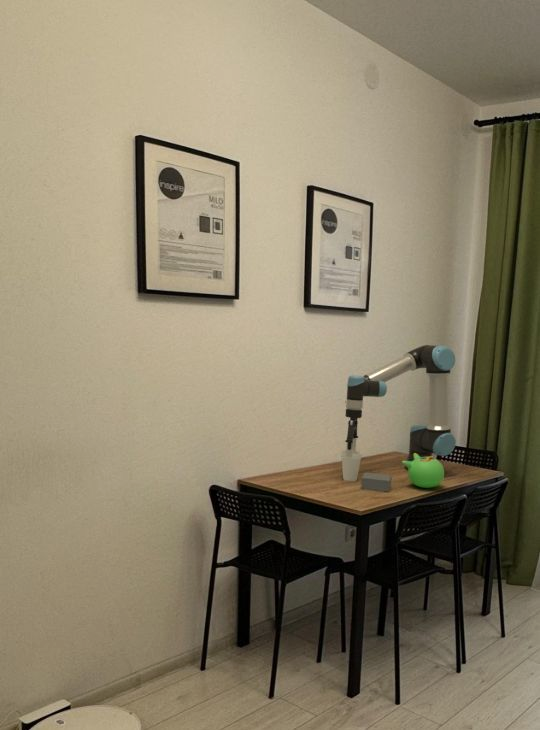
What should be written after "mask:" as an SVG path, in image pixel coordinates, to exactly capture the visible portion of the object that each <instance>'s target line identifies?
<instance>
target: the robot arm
mask: <svg viewBox="0 0 540 730" xmlns="http://www.w3.org/2000/svg"><path fill="white" fill-rule="evenodd" d="M455 364H456V356H455V353H454V351H453V350H452V349H451V348H450V347H449V346H445V345H430V344H425V345H421V346H418V347H415V348H414V349H412V350H409V351H407V352H405V353H404V354H403V356H402V357H400V358H398V359H395V360H394V361H391V362H390V363H387V364H385V365H384V366H382V367H381V366H380V367H379V368H377V369H375V370H373V371H370V372H369V373H367V374H364V375H349V376H348V378H347V383H346V387H347V388H346V400H345V402H344V403H345V407H346V409H345V417H346V418H349V420H348V422H347V424H348V426H347V434H346V440H345V443H346V456H347V457H352V451H357V450H356V449H357V439H359V436H358V423H359V422H358V419H361V418H362V417H363V415H362V414H363V410H362V409H363V405H364V404H363V403H364V397H370V398H372V397H373V398H380V397H385V395H386V394H387V390H388V387H387V383H386V382H388V381H390V380H393V379H394V378H396V377H399V376H401V375H402V374H404V373H407V372H409V371H412V372H413V371H416V370H419V369H425V372H426V373H425V374H426V375H427V376H428V377H429V381H428V382H429V384H428V385H429V397H428V400H429V404H428V405H429V424H428V425H426V424H425V425H423V424H422V425H421V424H419V425H412V426H410V431H409V447H408V448H409V449H408V456H407V457H406V459H405V461H413V460H414V455H413V454H414V453H416V454H418V455H419V456H420V457H425V456H426V457H430V456H433V455H436V456H442V457H445V456H448V455H450V454H451V453H452V452H453V451H454V449H455V447H456V444H457V443H456V442H457V441H456V438H455V436H454V435H453V434H452V431H451V429H452V428H451V426H450V425H449V423H448V377H449V375H450V374H451V370H452V369H453V367H454V366H455ZM405 468H406V469H405ZM404 469H405V470H407V469H408V467H407V466H405V465H404Z"/></svg>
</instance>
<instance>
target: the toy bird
mask: <svg viewBox="0 0 540 730" xmlns="http://www.w3.org/2000/svg"><path fill="white" fill-rule="evenodd" d="M413 455H414V460H413V461H406V460H402V461H401V463H402V465H404V467H405V466H407V467H408V470H407V475H408V478H409V481H410V482H411V483H412V484H413V485H415V486H417V487H418V488H422V489H432V488H434V487H437V486H439V485H441V483H442V482H443V480H444V477H445V469H444V466H443V464H442V463H441V462H440V461H439V460H438V459H436V458H434V456H433V455H432V456H430V457H426V456H425V457H420V456H419V455H418V454H416V453H414V454H413Z"/></svg>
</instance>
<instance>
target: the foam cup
mask: <svg viewBox="0 0 540 730" xmlns="http://www.w3.org/2000/svg"><path fill="white" fill-rule="evenodd" d="M340 454H341V466H342V467H341V468H342V477H343V479H342V480H344V481H346V482H356V481H357V480H358V476H359V470H360V465H361V460H362V452H361V451H357V450H356V451H352V457H347V456H346V450H341V452H340Z"/></svg>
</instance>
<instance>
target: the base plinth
mask: <svg viewBox="0 0 540 730" xmlns="http://www.w3.org/2000/svg"><path fill="white" fill-rule="evenodd" d="M391 484H392V474H385V473H384V474H382V473H372V472H364V473H363V475H362V477H361V487H360V488H361V490H364V489H367V491H373V490H378V491H377V492H382V491H387V492H386V493H390V490H391V487H390V486H391Z"/></svg>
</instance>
